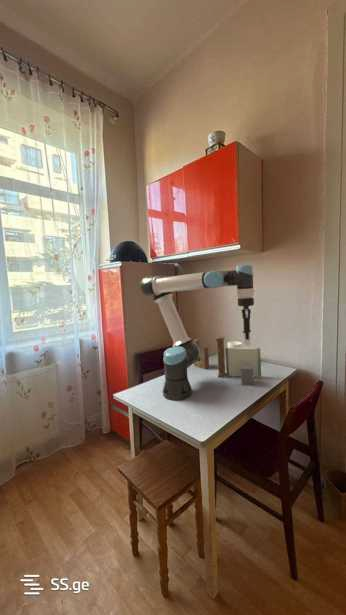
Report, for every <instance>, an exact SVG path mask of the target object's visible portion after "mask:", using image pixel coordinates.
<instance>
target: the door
mask: <svg viewBox="0 0 346 615" xmlns="http://www.w3.org/2000/svg"><path fill="white" fill-rule="evenodd" d="M261 359H262V358H261V348H260V347H241V348H228V347H225V370H226V374H227V375H226V376H240V377H241V365H252V367H253V377H261V376H262V365H261V364H262V363H261V362H262V360H261Z"/></svg>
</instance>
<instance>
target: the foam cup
mask: <svg viewBox="0 0 346 615" xmlns="http://www.w3.org/2000/svg"><path fill="white" fill-rule="evenodd" d="M242 345H243V343H242V342H240V341H235V340H233V341H228V342H227V348H243V346H242Z"/></svg>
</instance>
